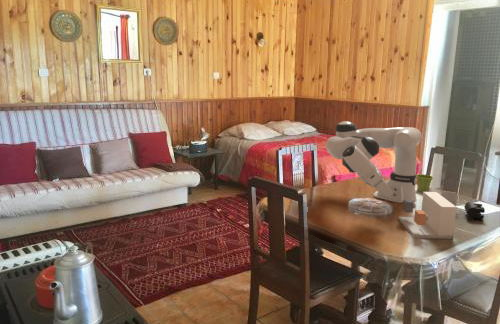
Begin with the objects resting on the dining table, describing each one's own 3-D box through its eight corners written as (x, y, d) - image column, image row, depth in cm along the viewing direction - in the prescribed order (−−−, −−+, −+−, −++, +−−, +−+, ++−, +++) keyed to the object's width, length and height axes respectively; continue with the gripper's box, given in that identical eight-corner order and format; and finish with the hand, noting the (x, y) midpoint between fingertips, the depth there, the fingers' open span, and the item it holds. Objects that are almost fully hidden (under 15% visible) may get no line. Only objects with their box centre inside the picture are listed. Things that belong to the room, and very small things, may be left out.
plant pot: (431, 189, 248) (432, 175, 246) (432, 193, 239) (433, 178, 237) (414, 187, 251) (415, 173, 249) (414, 191, 242) (416, 177, 240)
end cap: (463, 213, 205) (465, 200, 204) (479, 215, 203) (481, 202, 201) (466, 220, 196) (468, 206, 195) (483, 222, 194) (485, 208, 192)
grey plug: (406, 212, 189) (407, 202, 188) (402, 208, 194) (403, 198, 193) (416, 212, 189) (417, 202, 187) (412, 209, 193) (413, 199, 192)
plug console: (413, 237, 174) (417, 206, 171) (398, 219, 195) (401, 191, 192) (452, 239, 173) (456, 207, 170) (433, 220, 194) (436, 192, 192)
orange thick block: (417, 225, 173) (418, 213, 172) (413, 220, 178) (414, 209, 177) (428, 225, 173) (429, 214, 172) (424, 221, 178) (425, 210, 177)
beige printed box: (454, 212, 206) (456, 193, 204) (439, 210, 209) (441, 191, 207) (455, 211, 209) (457, 192, 207) (440, 208, 212) (442, 189, 210)
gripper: (361, 174, 199) (380, 194, 200) (370, 185, 179) (391, 208, 180) (371, 165, 197) (390, 186, 199) (382, 176, 177) (403, 198, 179)
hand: (391, 196), depth 189 cm, fingers closed
